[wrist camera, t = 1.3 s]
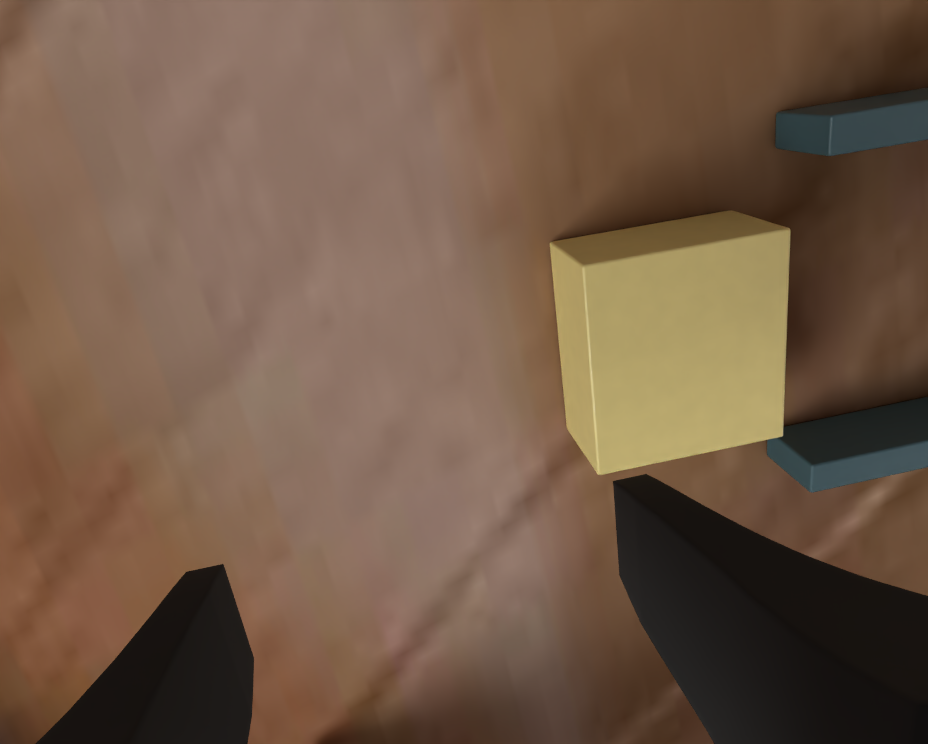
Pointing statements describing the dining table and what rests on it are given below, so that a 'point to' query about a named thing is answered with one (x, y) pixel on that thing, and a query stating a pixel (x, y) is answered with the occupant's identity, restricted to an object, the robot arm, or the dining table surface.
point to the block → (672, 337)
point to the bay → (878, 429)
